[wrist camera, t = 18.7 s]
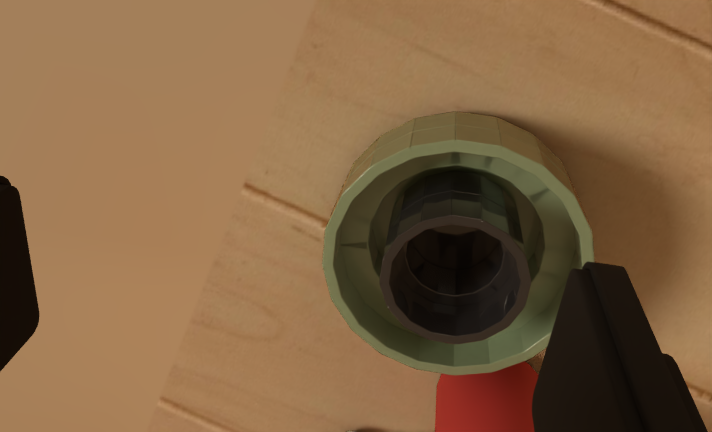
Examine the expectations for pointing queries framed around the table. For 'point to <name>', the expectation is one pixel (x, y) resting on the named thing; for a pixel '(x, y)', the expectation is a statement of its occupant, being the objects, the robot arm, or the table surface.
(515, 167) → the big bowl
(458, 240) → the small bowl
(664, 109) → the table surface
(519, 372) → the beer can
